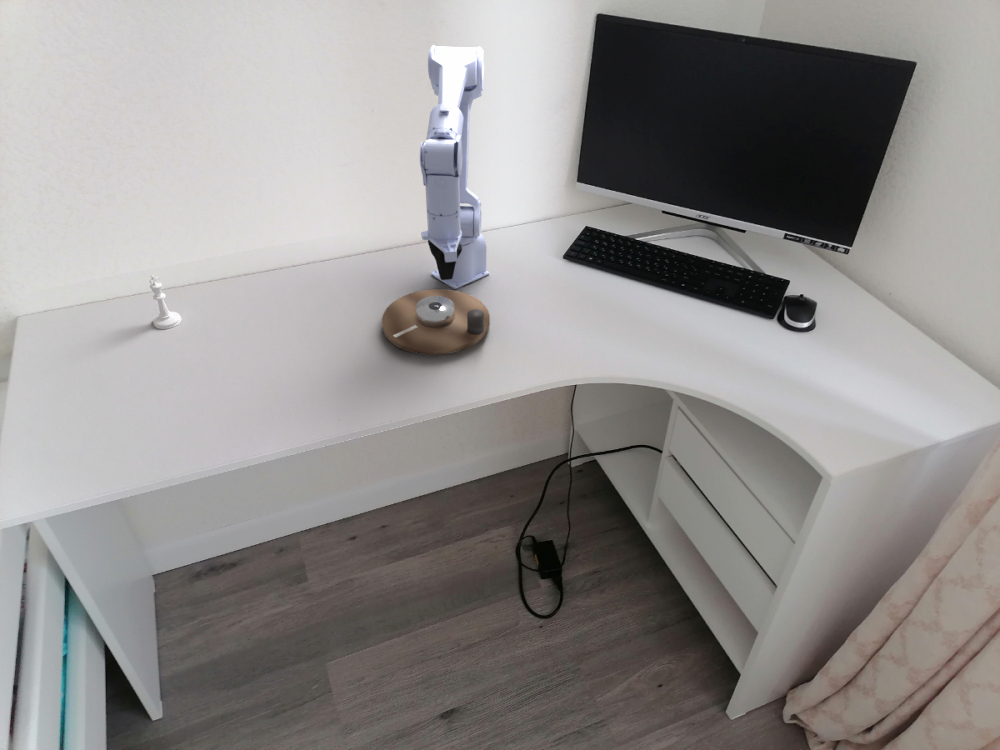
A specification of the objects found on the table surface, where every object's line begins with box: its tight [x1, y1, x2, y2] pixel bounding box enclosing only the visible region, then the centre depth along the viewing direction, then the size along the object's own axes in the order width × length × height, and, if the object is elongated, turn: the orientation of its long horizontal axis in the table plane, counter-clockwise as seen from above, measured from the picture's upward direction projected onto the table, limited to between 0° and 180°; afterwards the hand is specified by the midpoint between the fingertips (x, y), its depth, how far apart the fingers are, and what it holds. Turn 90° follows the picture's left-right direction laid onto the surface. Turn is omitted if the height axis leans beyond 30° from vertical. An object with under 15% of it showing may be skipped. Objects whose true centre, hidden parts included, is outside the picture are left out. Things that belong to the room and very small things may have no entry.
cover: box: [416, 296, 455, 328], centre depth 135 cm, size 7×7×3 cm
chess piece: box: [149, 274, 182, 330], centre depth 135 cm, size 5×5×10 cm
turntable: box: [381, 288, 490, 356], centre depth 135 cm, size 20×20×5 cm
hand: (446, 277), depth 133 cm, fingers closed
